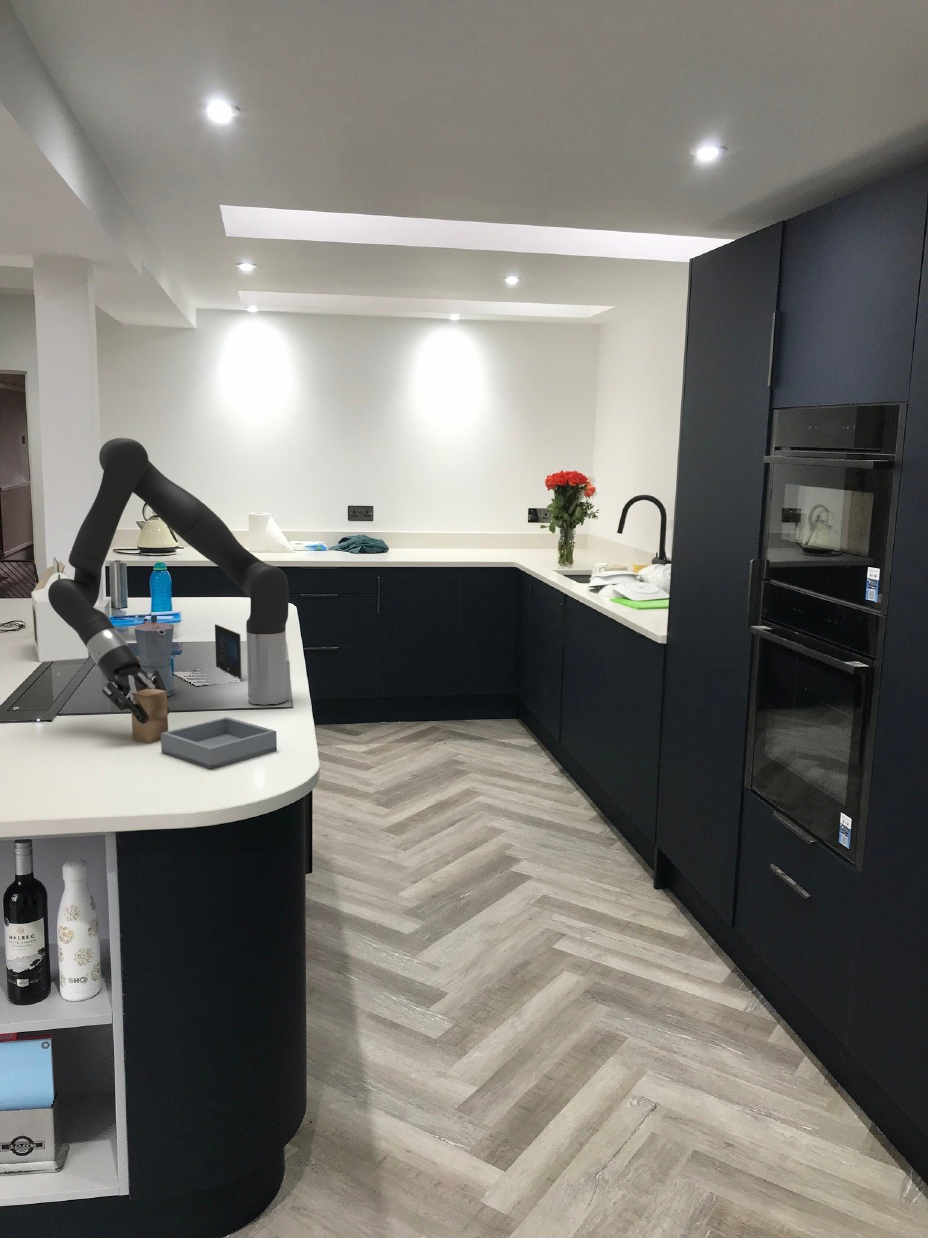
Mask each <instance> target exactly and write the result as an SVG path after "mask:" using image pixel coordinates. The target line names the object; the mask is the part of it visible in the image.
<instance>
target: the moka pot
mask: <svg viewBox="0 0 928 1238" xmlns="http://www.w3.org/2000/svg"><path fill="white" fill-rule="evenodd" d="M150 619H151V620H148V619H147V618H143V623H141V624H138V625H137V624H136V625H135V627H134V637H135V641H136V648H137V654H138V655H137V656H138V659H139V661H140V666H141V669H142V670H144V671H145V672H146V673H147V674H151V673H154V671H158V672H159V674H160V676H161V678H162V681H163V683H164V685H165V688H166V690H167V696H169V697H171V696H173V695H174V694H175V693H176V688H175V687H176V686H175V682H174V676H173V675H174V674H173V670H172V665H171V657H172V651H173V640H174V628H175V625H174V624H172V623H167V622H162V621H157V620H158V616H157V615H151V616H150ZM147 688H148V687H147ZM147 688H146V689H147Z"/></svg>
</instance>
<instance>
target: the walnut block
mask: <svg viewBox="0 0 928 1238" xmlns="http://www.w3.org/2000/svg"><path fill="white" fill-rule="evenodd" d="M134 695H135V697H136V698H137V700H138V704H140V705H141V706H142V708H143V709H144V711H145V712H146V714H147V715H148V717H149V719H148V720H147V722H146V723H144V724H141V723H140V722H139V721H138V720H137V719H136V718H135V716H134V715H133V713H132V712H131V726H132V729H131V731H132V740H133V741H137V742H143V743H148V744H152V743H156V742H158V741H161V733H163V732H167V731H169V718H168V717H169V716H168V715H167V706H168V697H167V692H166V691H164V690H158V689H148V688H147V689H143V690H140V691H137V693H135V694H134Z"/></svg>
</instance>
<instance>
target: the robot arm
mask: <svg viewBox="0 0 928 1238" xmlns="http://www.w3.org/2000/svg"><path fill="white" fill-rule="evenodd" d="M98 460H99V464H100V466H101V469H102V471H103V473H102V477H101V482H100V486H99V488H98V492H97V494H96V497H95V499H94V501H93V503H92V505H91V507H90V509H89V511H88V513H87V514H86V516H85V517H84V520H83V522H82V523H81V526H80V527H79V529H78V532H77V534H76V537H75V539H74V542H73V545H72V548H71V551H70V553H69V556H68V564H69V565H70V566H71V567H73V568H74V575H73V576H74V577H73V579H71V578H69V579H66V578H64V579H58V580H56V581H54V582H53V583H52V584H51V585H50V587H49V590H48V598H49V602H50V604H51V606H52V608H53V609H54V610H55V612H56V613H57V614H58V615H59V616H60V617H61V618H62V619H63V620H64V621H65V622H66V623H67V624H68V625H69V626H70V627H72V628H73V629H74V630H75V631H76V632H77V634H78V635H79V637H80V639H81V640H82V641H83V643H84V644H85V646H86V647H87V649H88V654H89V655H90V657H91V658H92V660H93V662H94V663H95V664H96V666H97V667H98V669H99V670H100V671H101V673H102V675H103V677H104V678H105V679H106V680H107V681H108V682H107V683H106V685H105V686H104V687H103V689H102V690H101V692H102V693H103V694H104V696H106V698H107V699H109V701H111V702H112V703H113V704H114V706H116V708H118V709H119V710H120V711H124V710H128V711H129V712H131V714H132V713H133V715H134V716H135V718H136V719H137V720H138V721H139V722H140V723H141V724H144V723H146V722H147V720H148V719H149V717H148V715H147V714H146V712H145V711H144V709H143V708H142V706H141V705H140V704H138V700H137V698H136V697H135V695H134V694H135V693H137V691H140V690H143V689H146V688H147V687H148V689H158V690H164V691H166V692H167V690H166V688H165V685H164V683H163V681H162V678H161V676H160V674H159V672H158V671H154V673H151V674H147V673H146V672H145V671H144V670H142V669H141V664H140V658H139V657H138V655H136V654H135V652H134V650H132V648H131V646H130V645H129V644H128V642H127V641H126V639H125V638H124V637H123V636H122V634H121V633H120V632H119V631H118V629H116V627H115V625H114V624H113V623H112V620H110V618H109V617H108V615H107V614H105V613H104V612H103V611H101V610H100V609H98V608H95V605H96V604H97V602H98V599H99V595H100V590H101V580H102V570H103V566H104V563H105V561H106V558H107V555H108V553H109V550H110V547H111V545H112V543H113V539H114V537H115V534H116V530H117V529H118V525H119V524H120V520H121V519H122V515H123V513H124V511H125V509H126V507H127V504H128V503H129V501H130V499H131V496H132V494H135V495H136V496H137V497H138V498H139V499H141V500H142V501H143V502H144V503H145V504H146V505H147V506H148V507H149V508H150V509H151V510H152V511H153V512H154V513H155V514H156V515H157V516H158V517H159V518H160V519H161V520H162V521H163V522H164V523H165V524H166V526H167V527H169V528H170V529H171V530H172V531H173V532H174V533H175V534H176V535H177V536H178V537H180V538H181V539H182V540H183V541H184V542H185V543H186V544H188V545H189V546H190V547H191V548H193V549H194V550H195V551H197V552H198V553H199V554H201V555H202V557H204V558H205V559H207V560H208V561H210V562H212V563H213V564H214V565H216V566H217V567H218V568H220V569H221V570H222V571H223V572H224V573H225V574H226V575H227V576H228V577H229V578H230V579H232V581H233V582H234V583H235V584H236V585H237V586H238V588H240V590H241V591H242V592H243V593H244V594H245V595H246V597H248V598H249V599H250V611H249V612H250V613H249V616H248V617H249V618H247V620H246V621H245V627H246V628H245V629H246V630H245V631H246V659H247V660H246V665H247V666H246V668H247V701H248V703H249V702H250V703H249V704H251V703H252V704H251V705H255V704H261V705H260V706H263V705H262V704H276V705H280V704H279V703H281V704H283V703H282V702H284V703H286V702H287V701H289V700H291V665H290V660H287V634H286V633H287V631H286V630H287V628H286V626H287V621H288V618H289V601H290V600H289V598H290V597H289V595H290V593H289V591H290V590H289V581H288V578H287V575H286V574H285V572H284V571H283V570H282V569H281V568H279V567H277V566H274V565H271V564H269V563H266V562H264V561H262V560H261V559H259V558H258V557H257V556H255V555H254V554H253V553H252V552H250V550H247V549H246V548H245V546H243V544H241V543H240V542H239V541H238V540H237V538H236V536H235V535H234V534H233V532H232V531H231V530H230V528H229V527H228V526H227V524H225V522H224V521H223V520H222V519H221V518H220V517H219V516H218V515H217V513H215V512H214V511H213V510H212V509H211V508H209V506H207V505H206V504H205V503H204V502H202V501H201V500H200V499H199V498H198V497H196V496H195V495H194V494H192V493H190V492H189V491H188V490H186V489H184V488H183V487H182V486H180V485H179V484H177V483H175V482H173V481H172V480H171V479H169V478H167V477H166V475H165V474H163V473H162V472H161V471H160V470H159V469H158V468H157V467H156V466H155V465H154V464H153V463H152V462H151V461H150V460H149V455H148V452H147V450H146V448H145V447H144V446H143V444H141V443H140V442H139V441H137V440H135V439H132V438H127V437H118V438H117V437H116V438H113V439H110V440H107V441H106V442H105V443H104V444H103V445H102V446H101V448H100V451H99V456H98ZM285 701H286V702H285ZM169 714H170V708H169V706H168V705H167V716H168V715H169Z"/></svg>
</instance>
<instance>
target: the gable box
mask: <svg viewBox="0 0 928 1238" xmlns="http://www.w3.org/2000/svg"><path fill="white" fill-rule="evenodd" d="M64 569H65V564H64V563H62V560H59V561H58V559H57V558H56V557H52V566H50V567H48V568H46V570H45V572H44V573H43V574H42V576H41V578H40V579H39V581H38V582H37V584H36V585H35V587H34V589H33V590H32V591H31V593H30V594H31V607H32V618H33V619H32V621H33V622H32V623H33V637H34V639H33V640H34V650H35V652H36V655H37V659H38V662H39V663H46V662H48V663H49V662H58V661H59V662H60V661H72V660H84V659H85V660H86V659H89V655H90V653H89V651H88V649H87V647H86V646H85V644H84V643H83V641H82V640H81V639H80V637H79V635H78V634H77V632H76V631H75V630H74V629H73V628H72V627H70V626H69V625H68V624H67V623H66V622H65V621H64V620H63V619H62V618H61V617H60V616H59V615H58V614H57V613H56V612H55V610H54V609H53V608H52V606H51V604H50V602H49V598H48V590H49V587H50V585H51V584H52V583H53V582H54V581H56V580H58V579H64V578H66V579H70V578H69V576H68V575H67V574H66V573H65V571H64Z"/></svg>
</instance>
